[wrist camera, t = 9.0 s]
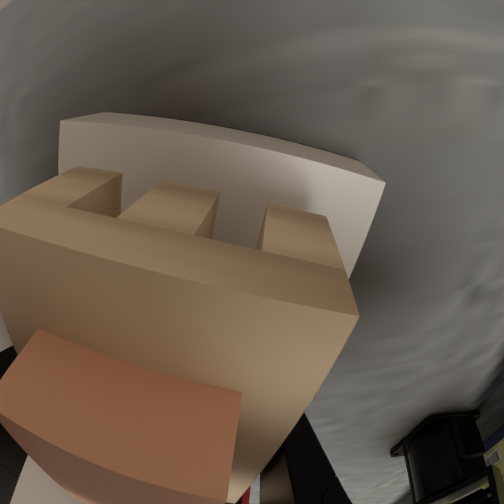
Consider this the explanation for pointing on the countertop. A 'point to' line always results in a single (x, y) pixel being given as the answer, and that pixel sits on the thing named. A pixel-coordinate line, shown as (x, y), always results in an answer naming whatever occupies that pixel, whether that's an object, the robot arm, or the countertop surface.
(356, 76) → the countertop surface
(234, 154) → the white flat block
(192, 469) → the block
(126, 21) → the countertop surface
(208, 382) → the pallet
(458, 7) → the countertop surface
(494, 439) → the protein box
